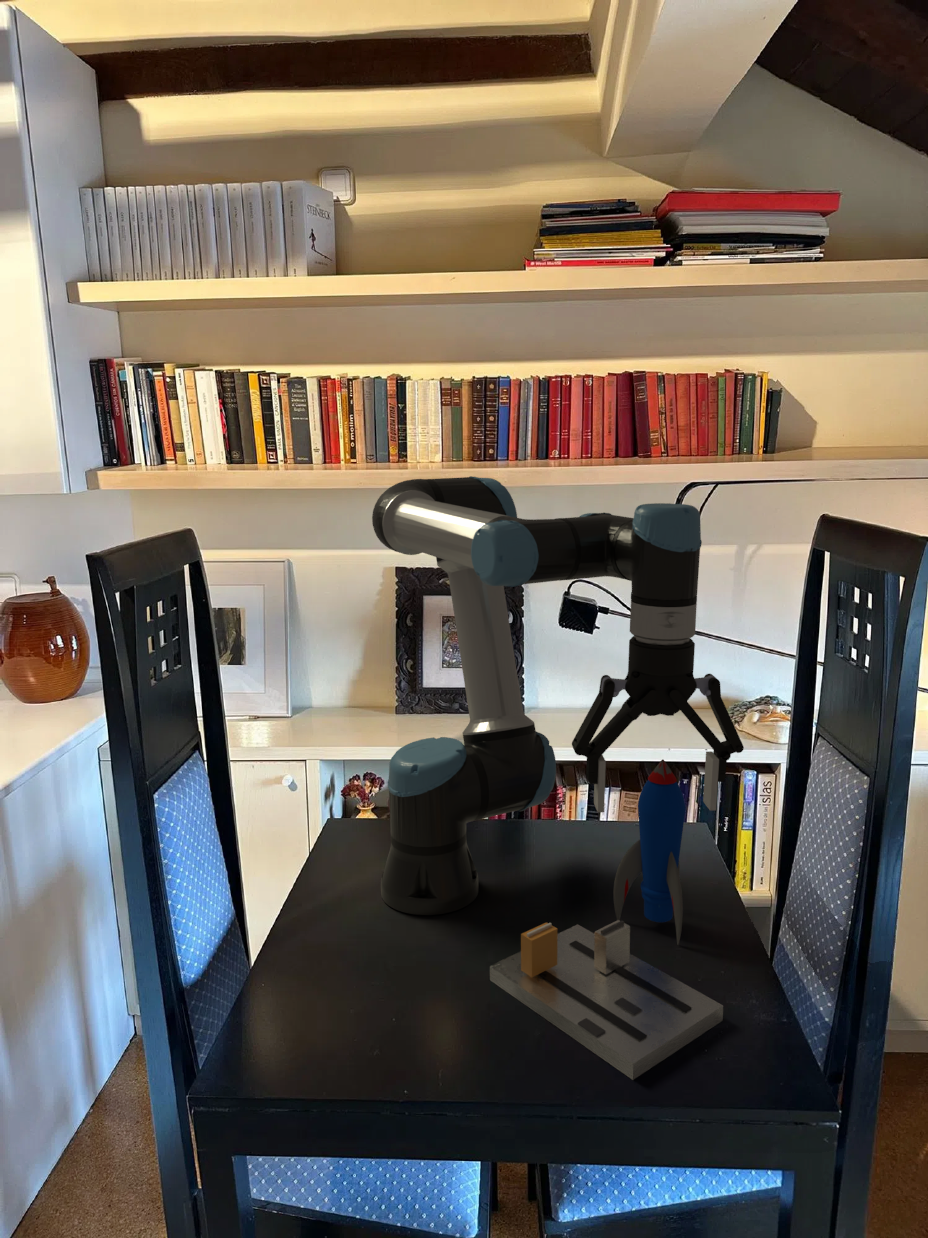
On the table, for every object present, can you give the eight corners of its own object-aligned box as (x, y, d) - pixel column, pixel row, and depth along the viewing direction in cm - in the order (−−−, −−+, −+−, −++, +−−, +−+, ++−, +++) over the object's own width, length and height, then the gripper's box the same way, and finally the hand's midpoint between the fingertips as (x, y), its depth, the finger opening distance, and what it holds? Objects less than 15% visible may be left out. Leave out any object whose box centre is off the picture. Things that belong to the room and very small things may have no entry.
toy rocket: (682, 949, 121) (688, 774, 116) (611, 942, 123) (614, 770, 118) (679, 909, 131) (685, 748, 127) (614, 903, 133) (617, 744, 129)
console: (489, 980, 114) (489, 926, 113) (577, 937, 124) (577, 887, 123) (632, 1080, 96) (634, 1017, 94) (722, 1020, 106) (725, 962, 104)
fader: (521, 970, 112) (521, 931, 111) (546, 958, 115) (546, 919, 114) (531, 977, 110) (531, 937, 109) (557, 964, 113) (557, 925, 112)
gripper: (560, 646, 100) (556, 821, 104) (779, 643, 101) (766, 818, 105) (551, 631, 107) (548, 796, 111) (755, 629, 108) (744, 792, 112)
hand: (654, 807), depth 108 cm, fingers open, 13 cm apart
